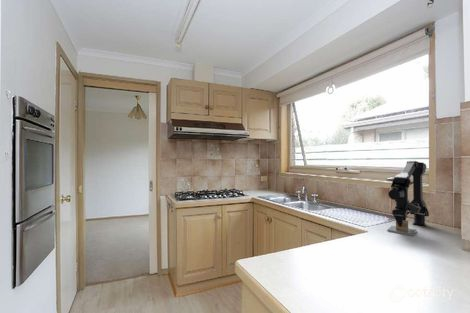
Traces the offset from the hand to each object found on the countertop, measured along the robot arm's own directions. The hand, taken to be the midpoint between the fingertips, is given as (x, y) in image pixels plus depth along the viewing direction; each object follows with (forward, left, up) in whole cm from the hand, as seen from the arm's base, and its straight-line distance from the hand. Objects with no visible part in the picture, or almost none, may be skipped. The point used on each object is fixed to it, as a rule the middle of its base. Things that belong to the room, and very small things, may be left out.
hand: (402, 225), depth 137 cm
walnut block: (0, 0, -2) cm, 2 cm away
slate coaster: (0, 0, -4) cm, 4 cm away
